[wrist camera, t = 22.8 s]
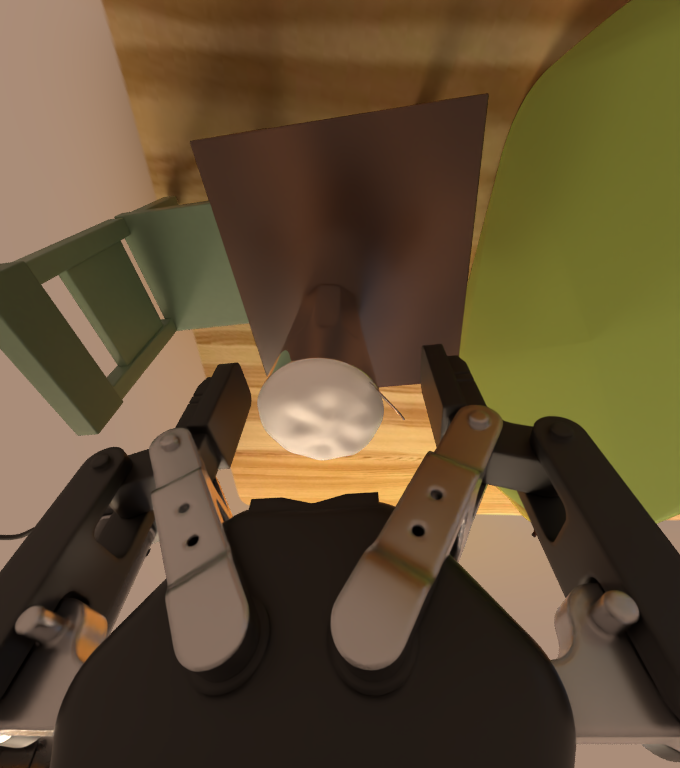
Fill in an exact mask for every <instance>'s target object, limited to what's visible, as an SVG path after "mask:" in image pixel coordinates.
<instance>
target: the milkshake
mask: <svg viewBox="0 0 680 768" xmlns="http://www.w3.org/2000/svg"><path fill="white" fill-rule="evenodd" d="M381 397H382V398H383V399H384V400H385V401H386V402H387V403H388V404H389V405H390V406H391V407H392V408H393V409H394V410H395V412H396V413H397V414H398V415H399V416H400V417H401V418H402V419H403V420H405V418H404V417H403V416H402V415H401V413H400V412H399V411H398V410H397V409H396V408H395V407H394V406H393V405H392V404H391V403H390V402H389V401H388V400H387V399H386V398H385V397H384V396H383V395H382V394H381V393H380V391H379V387H378V383H377V380H376V376H375V373H374V369H373V365H372V362H371V359H370V356H369V353H368V348H367V344H366V339H365V334H364V329H363V325H362V320H361V315H360V312H359V308H358V305H357V302H356V298H355V296H354V295H352V294H351V293H349V292H348V291H347V290H345V289H344V288H343V287H341V286H340V285H319V286H318V287H316V288H315V289H314V290H312V291H311V292H309V293H308V294H306V295H305V296H304V298H303V301H302V303H301V305H300V308H299V310H298V312H297V315H296V317H295V319H294V322H293V324H292V327H291V329H290V331H289V334H288V336H287V338H286V340H285V342H284V345H283V347H282V349H281V351H280V353H279V355H278V357H277V359H276V361H275V363H274V365H273V367H272V369H271V371H270V373H269V375H268V377H267V379H266V381H265V383H264V385H263V386H262V388H261V390H260V393H259V396H258V410H259V415H260V419H261V422H262V425H263V427H264V429H265V430H266V432H267V433H268V434H269V435H270V436H271V437H272V438H273V439H274V440H276V441H277V442H278V443H279V444H280V445H281V446H282V447H283V448H284V449H286V450H287V451H289V452H291V453H295V454H299V455H303V456H307V457H310V458H313V459H317V460H329V459H334V458H338V457H344V456H350V455H354V454H356V453H358V452H359V451H360V450H362V449H363V448H364V447H365V446H366V445H367V444H368V443H369V442H370V441H371V439H372V438H373V437H374V435H375V433H376V431H377V430H378V428H379V426H380V424H381V422H382V419H383V414H384V406H383V401H382V398H381Z"/></svg>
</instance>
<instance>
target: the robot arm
mask: <svg viewBox="0 0 680 768" xmlns="http://www.w3.org/2000/svg"><path fill="white" fill-rule="evenodd" d="M421 389H422V394H423V398H424V401H425V405H426V409H427V413H428V417H429V420H430V424H431V428H432V432H433V435H434V439H435V443H436V447H437V448H436V450H435V451H434V452H432V451H429V452H428V453H427V454H426V456H425V457H424V459H423V461H422V462H421V464H420V466H419V467H418V469H417V471H416V473H415V474H414V476H413V478H412V479H411V481H410V483H409V484H408V486H407V488H406V490H405V491H404V493H403V495H402V496H401V498H400V500H399V502H398V503H397V505H396V507H395V506H392V505H389V504H386V503H381V502H379V498H378V492H373V493H355V494H344V495H341V496H337V497H334V498H331V499H327V500H324V501H320V502H317V503H307V502H302V501H297V500H292V499H286V498H265V499H251V503H250V507H249V510H246V511H244V512H241V513H239V514H237V515H235V516H234V517H233V516H232V513H231V511H230V508H229V506H228V503H227V501H226V498H225V496H224V493H223V491H222V488H221V486H220V484H219V481H218V479H217V478H216V474H217V471H218V469H230V467H231V464H232V461H233V458H234V455H235V452H236V449H237V446H238V443H239V440H240V437H241V434H242V431H243V428H244V425H245V422H246V419H247V416H248V413H249V410H250V407H251V393H250V390H249V387H248V385H247V382H246V379H245V377H244V374H243V371H242V369H241V366H240V365H239V364H238V363H228V364H219V365H218V366H217V368H216V370H215V371H214V373H213V375H212V377H208V378H206V380H204V381H203V382H202V383H201V384H200V385H199V386H198V388H197V389H196V391H195V393H194V397H192V399H191V400H190V402H189V403H190V404H188V406H187V408H186V410H185V411H184V413H183V415H182V417H181V418H180V420H179V422H178V424H177V426H176V428H174V429H170V430H168V431H166V432H163V433H162V434H160V435H159V436H158V437H157V438H156V439H154V441H153V442H152V444H151V445H150V447H149V449H147V450H144V451H141V452H138V453H134V454H132V455H127V454H126V453H125V452H124V450H123V449H121V448H119V447H110V448H107V449H104V450H102V451H99V452H97V453H96V454H94V455H92V456H91V457H90V458H89V459H87V460H86V461H85V463H84V464H83V465H82V466H81V467H80V469H79V470H78V471H77V473H76V474H75V475H74V477H73V478H72V479H71V480H70V482H69V483H68V485H67V486H66V487H65V489H64V490H63V491H62V493H60V495H59V496H58V497H57V499H56V500H55V501H54V503H53V504H52V505H51V507H50V508H49V509H48V510H47V512H46V513H45V514H44V516H43V517H42V518H41V520H40V521H39V522H38V523H37V525H36V526H35V527H34V528H32V529H30V530H28V531H26V532H23V533H21V534H17V535H0V540H13V539H19V538H23V537H25V536H28V537H27V538H26V539H25V540H24V542H23V543H22V544H21V546H20V547H19V548H18V550H17V551H16V552H15V553H14V555H13V556H12V557H11V559H10V560H9V561H8V563H7V564H6V565H5V566H4V568H3V569H2V570H1V572H0V768H574V763H575V752H576V744H642V745H643V746H644V747H645V748H646V749H648V750H650V751H651V752H652V753H653V754H655V755H657V756H659V757H661V758H663V759H666V760H669V761H673V762H680V554H679V553H678V552H677V550H676V549H675V548H674V546H673V545H672V544H671V542H670V541H669V540H668V538H667V537H666V536H665V535H664V533H663V532H662V531H661V529H660V528H659V527H658V525H657V524H656V523H655V521H654V520H653V519H652V517H651V516H650V515H649V513H648V512H647V511H646V509H645V508H644V507H643V506H642V504H641V503H640V502H639V500H638V499H637V498H636V496H635V495H634V494H633V492H632V491H631V490H630V488H629V487H628V486H627V485H626V483H625V482H624V481H623V479H622V478H621V477H620V475H619V474H618V473H617V471H616V470H615V469H614V467H613V466H612V465H611V464H610V462H609V461H608V460H607V458H606V457H605V456H604V454H603V453H602V452H601V450H600V449H599V448H598V446H597V445H596V444H595V443H594V441H593V440H592V439H591V437H590V436H589V435H588V433H587V432H586V431H585V430H584V429H583V428H582V427H581V426H580V425H579V424H577V423H576V422H574V421H572V420H569V419H567V418H563V417H558V416H546V417H542V418H540V419H538V420H537V421H536V422H535V423H534V426H527V425H521V424H514V423H510V422H507V421H504V420H502V418H501V416H500V415H499V414H498V413H497V412H496V411H494V410H493V409H491V408H489V407H487V405H486V403H485V401H484V399H483V397H482V395H481V393H480V391H479V389H478V386H477V384H476V382H475V381H474V378H473V376H472V374H471V373H470V370H469V367H468V365H467V363H466V362H465V361H464V360H462V359H461V358H460V357H458V356H457V355H453V356H447V354H446V352H445V350H444V347H443V345H442V344H433V345H423V346H422V349H421ZM488 484H489V485H493V486H498V487H502V488H507V489H511V490H516V491H517V493H518V495H519V497H520V499H521V501H522V504H523V506H524V508H525V510H526V512H527V515H528V517H529V519H530V521H531V523H532V525H533V528H534V530H535V532H536V534H537V536H538V539H539V541H540V543H541V545H542V547H543V550H544V552H545V554H546V556H547V558H548V560H549V563H550V565H551V567H552V569H553V571H554V574H555V576H556V578H557V580H558V582H559V585H560V587H561V589H562V591H563V593H564V595H565V598H566V599H565V600H564V601H563V603H562V604H561V605H560V607H559V608H558V610H557V611H556V614H555V619H554V624H555V629H556V634H557V637H558V641H559V654H558V659H555V660H550V659H549V658H548V656H547V655H546V654H545V652H544V651H543V650H542V648H541V647H540V646H539V645H538V644H537V643H536V642H535V640H534V639H533V638H532V637H531V636H530V635H529V634H528V633H527V632H526V631H525V630H524V629H523V628H522V627H521V626H520V625H519V624H518V623H517V622H516V621H515V620H514V619H513V618H512V617H511V616H510V615H509V614H508V613H507V612H506V611H505V610H504V609H503V608H502V607H501V606H500V605H499V604H498V603H497V602H496V601H495V600H494V599H493V598H492V597H491V596H490V595H489V594H488V593H487V592H486V591H485V590H484V589H483V588H482V587H481V586H480V585H479V584H478V582H477V581H476V580H475V579H474V578H473V577H472V576H471V575H470V574H469V573H468V572H467V571H466V570H465V569H463V567H462V566H461V565H460V564H459V563H458V562H459V559H460V557H461V555H462V552H463V549H464V547H465V544H466V541H467V538H468V534H469V531H470V528H471V526H472V523H473V520H474V518H475V515H476V513H477V510H478V508H479V505H480V503H481V500H482V498H483V495H484V493H485V490H486V488H487V485H488ZM108 506H110V507H111V508H112V509H113V510H114V511H113V513H106V514H104V512H105V511H106V509H107V508H108ZM154 520H156V525H157V531H158V536H159V541H160V546H161V552H162V557H163V563H164V568H165V573H166V579H165V581H163V582H162V584H160V585H159V586H158V587H157V588H156V589H155V590H154V591H153V592H152V593H151V594H150V595H149V596H148V597H147V598H146V599H145V600H144V601H143V602H142V603H141V604H140V605H139V606H138V608H136V609H135V610H134V611H133V612H132V613H131V614H130V615H129V616H128V617H127V618H126V619H125V620H124V621H123V622H122V623H121V624H120V625H119V626H118V627H117V628H116V629H115V630H114V631H113V632H112V633H111V631H112V629H113V626H114V624H115V622H116V620H117V618H118V616H119V613H120V611H121V609H122V607H123V604H124V602H125V600H126V598H127V596H128V594H129V592H130V589H131V587H132V585H133V583H134V581H135V579H136V576H137V574H138V572H139V570H140V568H141V566H142V563H143V561H144V559H145V557H146V556H147V555H148V554H149V552H150V549H149V548H150V546H151V544H152V542H153V541H154V539H155V537H156V534H157V532H156V529H155V528H154V527H153V526H152V524H153V522H154ZM110 633H111V634H110Z"/></svg>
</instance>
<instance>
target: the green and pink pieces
mask: <svg viewBox="0 0 680 768" xmlns="http://www.w3.org/2000/svg"><path fill="white" fill-rule="evenodd" d="M459 357H460V358H461V359H462V360H464V361H465V362H466V363H467V365H468V367H469V370H470V373H471V374H472V376H473V378H474V381H475V382H476V384H477V386H478V389H479V391H480V393H481V395H482V397H483V399H484V401H485V403H486V405H487V407H489V408H491V409H493V410H494V411H496V412H497V413H498V414H499V415H500V416H501V418H502V420H504V421H507V422H510V423H514V424H521V425H527V426H534V423H535V422H536V421H537V420H538V419H540V418H542V417H546V416H558V417H563V418H567V419H569V420H572V421H574V422H576V423H577V424H579V425H580V426H581V427H582V428H583V429H584V430H585V431H586V432H587V433H588V435H589V436H590V437H591V439H592V440H593V441H594V443H595V444H596V445H597V446H598V448H599V449H600V450H601V452H602V453H603V454H604V456H605V457H606V458H607V460H608V461H609V462H610V464H611V465H612V466H613V467H614V469H615V470H616V471H617V473H618V474H619V475H620V477H621V478H622V479H623V481H624V482H625V483H626V485H627V486H628V487H629V488H630V490H631V491H632V492H633V494H634V495H635V496H636V498H637V499H638V500H639V502H640V503H641V504H642V506H643V507H644V508H645V509H646V511H647V512H648V513H649V515H650V516H651V517H652V519H653V520H654V521H655V523H656V524H657V523H659V522H662V521H664V520H667V519H669V518H672V517H674V516H676V515H679V514H680V0H631V1H630V2H629V3H627V4H626V5H624V6H623V7H622V8H620V9H619V10H618V11H616V12H615V13H614V14H612V15H611V16H610V17H609V18H607V19H606V20H605V21H604V22H602V23H601V24H600V25H599V26H597V27H596V28H595V29H594V30H593V31H591V32H590V33H589V34H588V35H587V36H586V37H584V38H583V39H582V40H581V41H580V42H579V43H577V44H576V45H575V46H574V47H573V48H572V49H570V50H569V51H568V52H567V53H566V54H565V55H563V56H562V57H561V58H560V59H559V60H557V61H556V62H555V63H554V64H553V65H552V66H550V67H549V68H548V69H547V70H546V71H545V72H544V73H543V74H542V76H541V77H540V78H539V79H538V80H537V82H536V83H535V84H534V86H533V87H532V88H531V90H530V91H529V93H528V94H527V96H526V97H525V99H524V101H523V103H522V105H521V107H520V108H519V110H518V112H517V114H516V116H515V118H514V121H513V123H512V125H511V128H510V131H509V133H508V136H507V139H506V142H505V145H504V148H503V152H502V155H501V159H500V163H499V166H498V170H497V174H496V178H495V182H494V185H493V189H492V193H491V197H490V201H489V205H488V208H487V212H486V216H485V220H484V224H483V227H482V231H481V235H480V239H479V243H478V246H477V250H476V254H475V258H474V262H473V266H472V269H471V273H470V277H469V281H468V285H467V290H466V299H465V308H464V317H463V325H462V334H461V343H460V352H459ZM499 488H500V489H501V490H502V491H503V492H504V493H505V494H507V495H508V496H509V497H511V498H512V499H513V500H514V501H516V502H517V503H518V504H519V505H521V506H522V507H523V508H524V506H523V504H522V501H521V499H520V497H519V495H518V493H517V491H516V490H511V489H507V488H502V487H499Z"/></svg>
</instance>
